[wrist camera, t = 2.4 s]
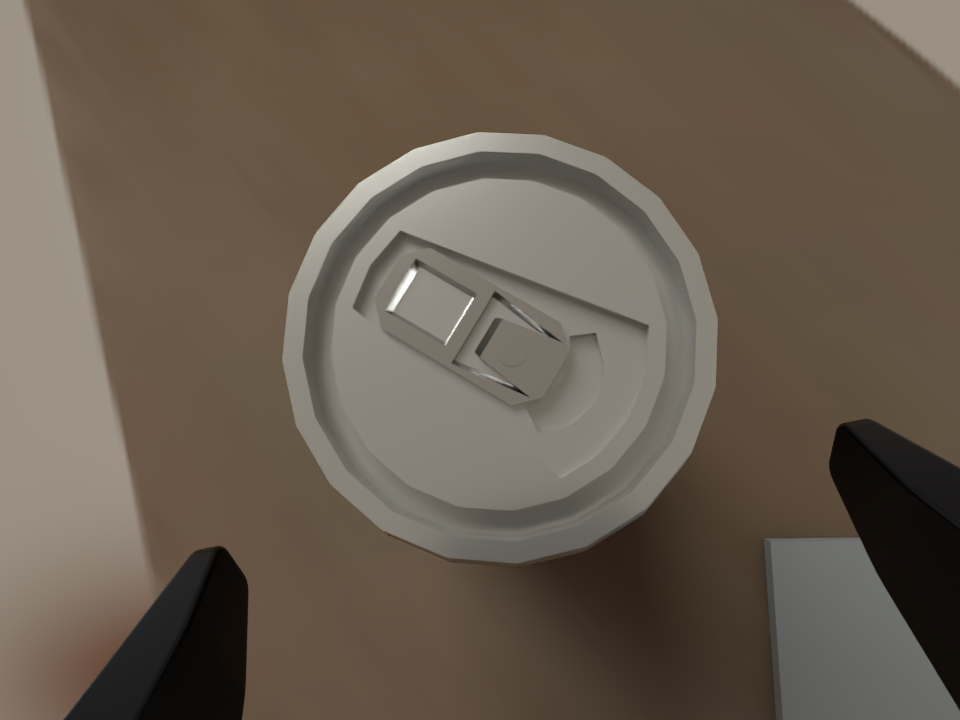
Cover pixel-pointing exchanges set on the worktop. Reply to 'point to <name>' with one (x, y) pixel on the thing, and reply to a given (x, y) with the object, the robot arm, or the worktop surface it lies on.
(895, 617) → the grey mat
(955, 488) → the robot arm
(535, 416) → the beer can
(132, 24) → the worktop surface
